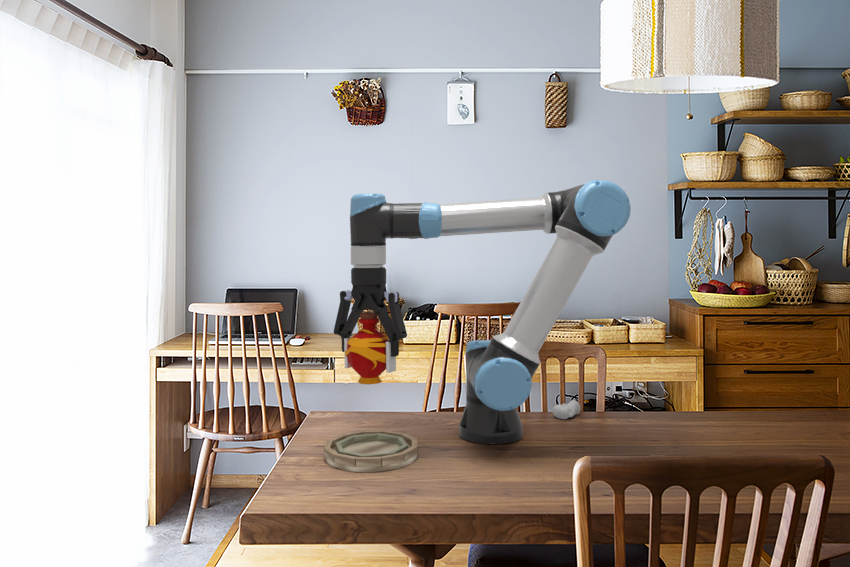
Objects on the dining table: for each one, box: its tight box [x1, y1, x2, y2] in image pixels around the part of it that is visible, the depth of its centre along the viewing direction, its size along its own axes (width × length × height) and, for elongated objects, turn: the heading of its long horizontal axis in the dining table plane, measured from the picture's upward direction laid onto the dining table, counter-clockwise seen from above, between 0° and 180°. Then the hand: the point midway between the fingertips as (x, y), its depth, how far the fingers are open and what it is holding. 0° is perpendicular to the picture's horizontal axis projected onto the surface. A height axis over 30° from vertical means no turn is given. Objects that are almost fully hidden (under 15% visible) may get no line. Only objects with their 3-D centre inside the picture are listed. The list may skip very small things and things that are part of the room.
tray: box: [323, 429, 419, 473], centre depth 144 cm, size 20×20×3 cm
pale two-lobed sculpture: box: [552, 399, 581, 420], centre depth 174 cm, size 4×8×5 cm
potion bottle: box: [345, 311, 389, 385], centre depth 142 cm, size 10×10×15 cm
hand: (370, 369), depth 143 cm, fingers closed on potion bottle, 10 cm apart
